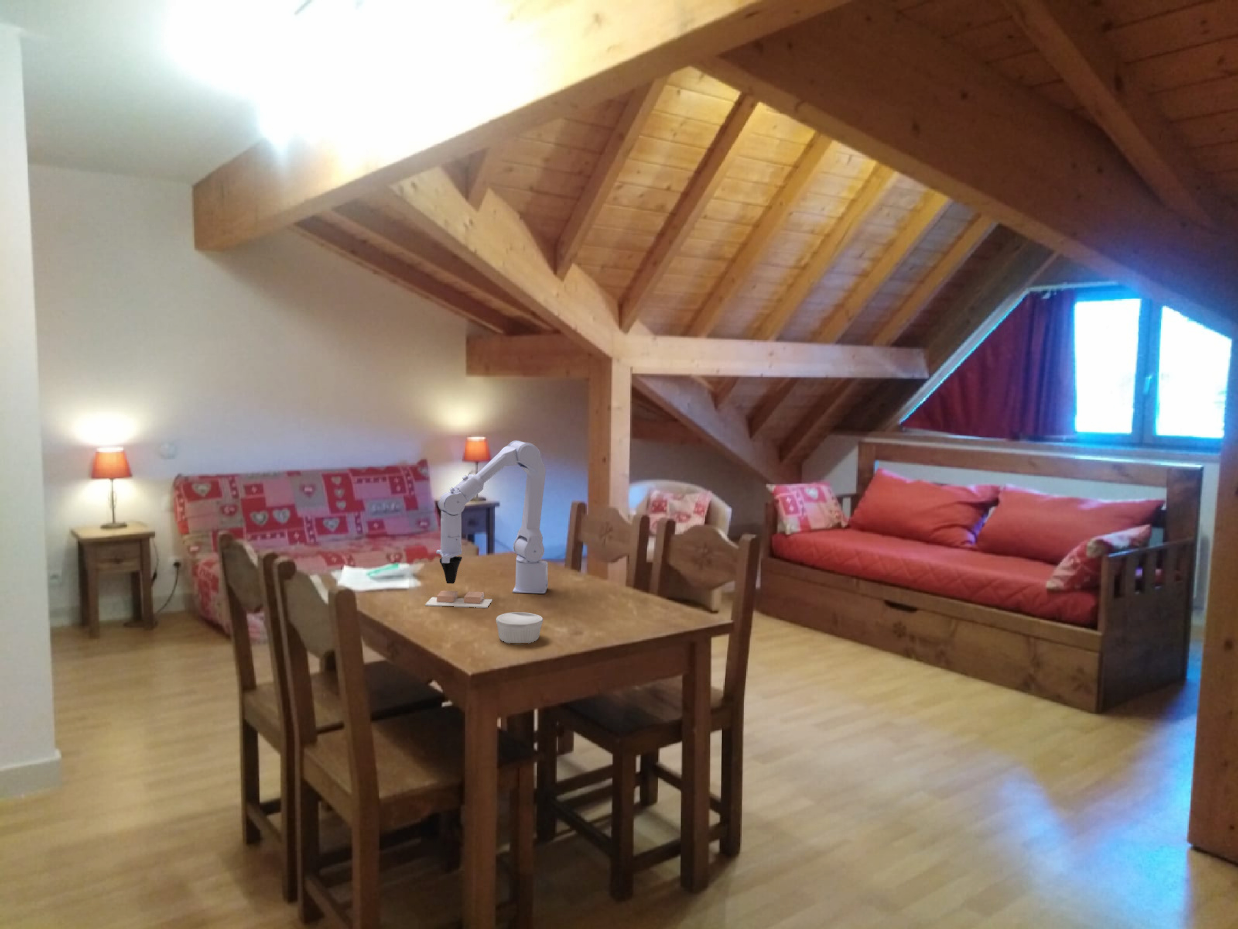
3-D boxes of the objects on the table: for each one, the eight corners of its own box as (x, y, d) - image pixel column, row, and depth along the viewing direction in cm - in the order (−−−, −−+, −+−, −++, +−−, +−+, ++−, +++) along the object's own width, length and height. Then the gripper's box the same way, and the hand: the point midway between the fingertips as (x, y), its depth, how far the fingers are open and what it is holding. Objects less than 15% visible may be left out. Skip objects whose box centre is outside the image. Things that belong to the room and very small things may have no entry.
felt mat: (492, 600, 249) (492, 599, 249) (487, 608, 241) (487, 606, 241) (431, 598, 249) (431, 597, 249) (425, 605, 241) (425, 604, 241)
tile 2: (484, 592, 249) (480, 597, 244) (483, 598, 250) (480, 603, 244) (468, 591, 250) (463, 596, 244) (468, 597, 250) (463, 603, 244)
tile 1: (457, 591, 250) (453, 596, 244) (457, 597, 250) (452, 602, 244) (441, 590, 250) (436, 595, 244) (441, 596, 250) (436, 602, 244)
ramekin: (545, 633, 220) (545, 612, 219) (539, 647, 209) (539, 625, 208) (500, 631, 220) (500, 610, 219) (491, 645, 209) (492, 623, 208)
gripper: (442, 530, 256) (442, 576, 258) (430, 539, 242) (430, 588, 243) (466, 531, 256) (466, 577, 258) (456, 540, 242) (456, 589, 243)
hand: (450, 583), depth 250 cm, fingers closed
